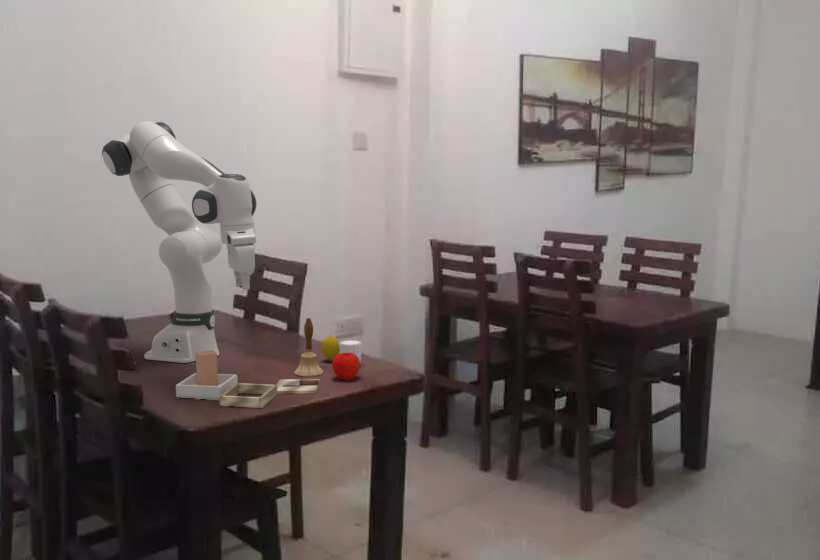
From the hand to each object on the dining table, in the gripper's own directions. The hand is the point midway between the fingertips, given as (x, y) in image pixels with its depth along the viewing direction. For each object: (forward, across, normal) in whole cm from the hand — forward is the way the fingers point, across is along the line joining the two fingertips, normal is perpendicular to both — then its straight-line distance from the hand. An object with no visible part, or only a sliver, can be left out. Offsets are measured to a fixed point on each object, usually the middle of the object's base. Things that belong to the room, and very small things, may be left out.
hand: (243, 287), depth 222 cm
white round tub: (+28, -11, +31) cm, 44 cm away
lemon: (+28, -18, +27) cm, 43 cm away
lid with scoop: (+28, +6, +11) cm, 30 cm away
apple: (+29, +2, +26) cm, 39 cm away
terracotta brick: (+26, +2, -12) cm, 28 cm away
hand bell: (+28, -8, +18) cm, 34 cm away
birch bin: (+27, +12, -3) cm, 30 cm away
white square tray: (+26, +2, -12) cm, 29 cm away
